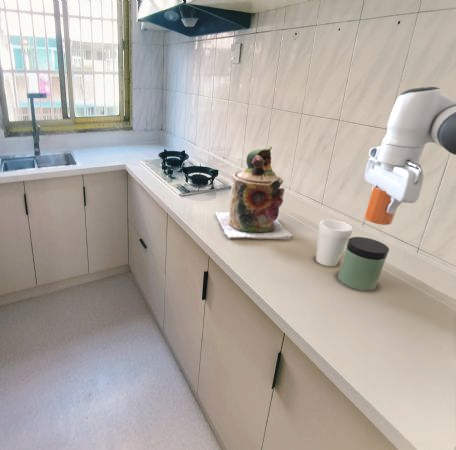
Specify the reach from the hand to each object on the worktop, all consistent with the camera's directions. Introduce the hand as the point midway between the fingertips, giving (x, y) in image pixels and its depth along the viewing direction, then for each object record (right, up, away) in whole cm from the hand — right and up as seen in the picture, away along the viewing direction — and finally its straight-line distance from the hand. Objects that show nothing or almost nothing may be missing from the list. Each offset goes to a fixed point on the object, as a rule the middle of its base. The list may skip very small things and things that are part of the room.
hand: (381, 207), depth 91 cm
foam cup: (-5, -17, +20) cm, 27 cm away
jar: (-1, -21, +10) cm, 24 cm away
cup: (0, -3, +1) cm, 4 cm away
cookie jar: (-23, -6, +44) cm, 50 cm away
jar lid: (0, -11, +5) cm, 12 cm away
